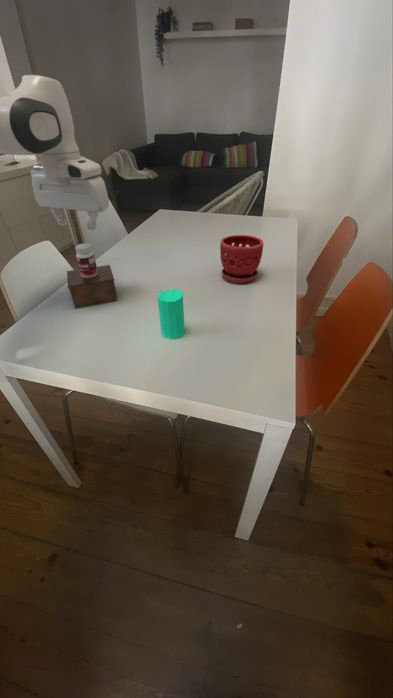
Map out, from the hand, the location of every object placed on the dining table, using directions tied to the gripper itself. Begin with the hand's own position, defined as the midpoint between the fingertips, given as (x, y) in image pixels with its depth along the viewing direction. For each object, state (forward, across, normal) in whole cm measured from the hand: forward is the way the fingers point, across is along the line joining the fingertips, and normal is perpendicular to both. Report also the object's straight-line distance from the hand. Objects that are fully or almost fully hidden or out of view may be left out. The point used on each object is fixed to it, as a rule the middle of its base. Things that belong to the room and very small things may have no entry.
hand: (77, 226), depth 83 cm
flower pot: (+21, +37, +28) cm, 51 cm away
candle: (+21, +30, -9) cm, 38 cm away
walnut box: (+20, 0, 0) cm, 20 cm away
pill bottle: (+14, 0, 0) cm, 14 cm away
